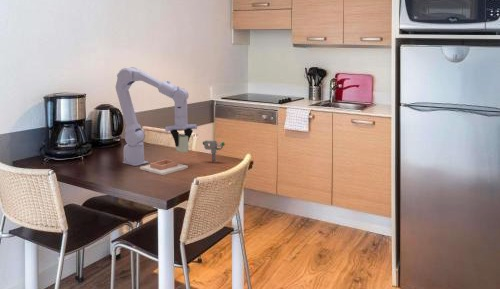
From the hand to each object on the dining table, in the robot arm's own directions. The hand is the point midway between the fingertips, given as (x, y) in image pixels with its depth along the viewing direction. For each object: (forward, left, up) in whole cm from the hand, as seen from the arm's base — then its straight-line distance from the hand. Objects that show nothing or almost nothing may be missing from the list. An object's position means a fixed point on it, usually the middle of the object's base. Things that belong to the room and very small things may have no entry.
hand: (181, 145), depth 206 cm
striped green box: (0, 0, -2) cm, 2 cm away
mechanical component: (+7, +14, -10) cm, 18 cm away
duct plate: (-2, -9, -9) cm, 13 cm away
